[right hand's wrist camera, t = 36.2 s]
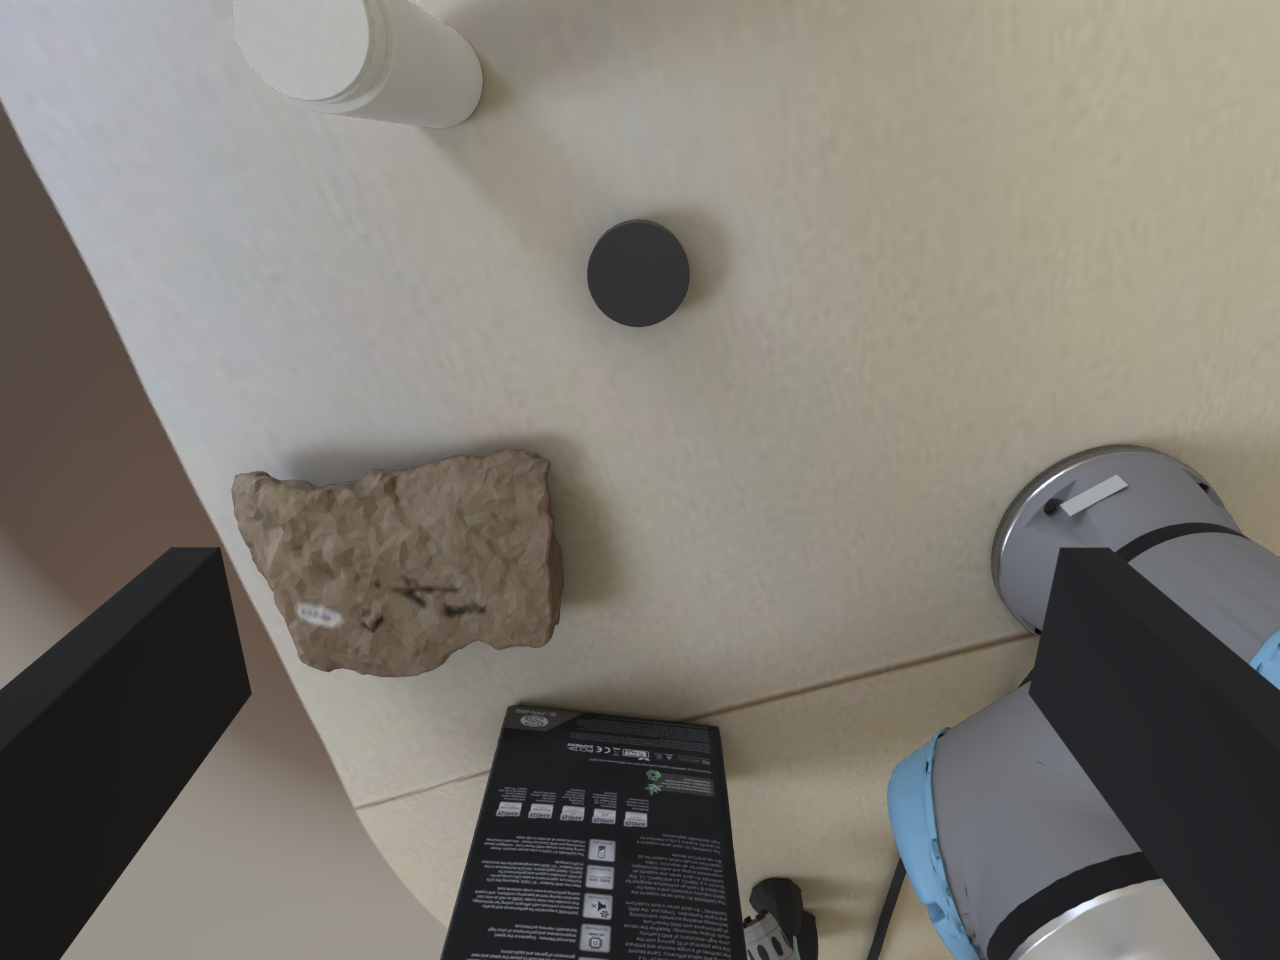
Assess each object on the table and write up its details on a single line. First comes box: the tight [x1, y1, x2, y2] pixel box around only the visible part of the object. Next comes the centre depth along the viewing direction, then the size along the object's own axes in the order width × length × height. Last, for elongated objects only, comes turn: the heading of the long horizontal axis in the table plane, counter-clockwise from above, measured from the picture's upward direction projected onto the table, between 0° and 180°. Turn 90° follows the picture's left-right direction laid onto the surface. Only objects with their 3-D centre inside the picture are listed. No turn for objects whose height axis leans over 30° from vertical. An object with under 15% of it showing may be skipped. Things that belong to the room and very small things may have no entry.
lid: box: [587, 220, 689, 327], centre depth 50 cm, size 6×6×2 cm
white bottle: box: [233, 0, 483, 129], centre depth 37 cm, size 5×5×20 cm
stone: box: [231, 449, 564, 677], centre depth 55 cm, size 21×15×6 cm
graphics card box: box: [440, 705, 747, 960], centre depth 51 cm, size 17×7×27 cm, turn 84°
